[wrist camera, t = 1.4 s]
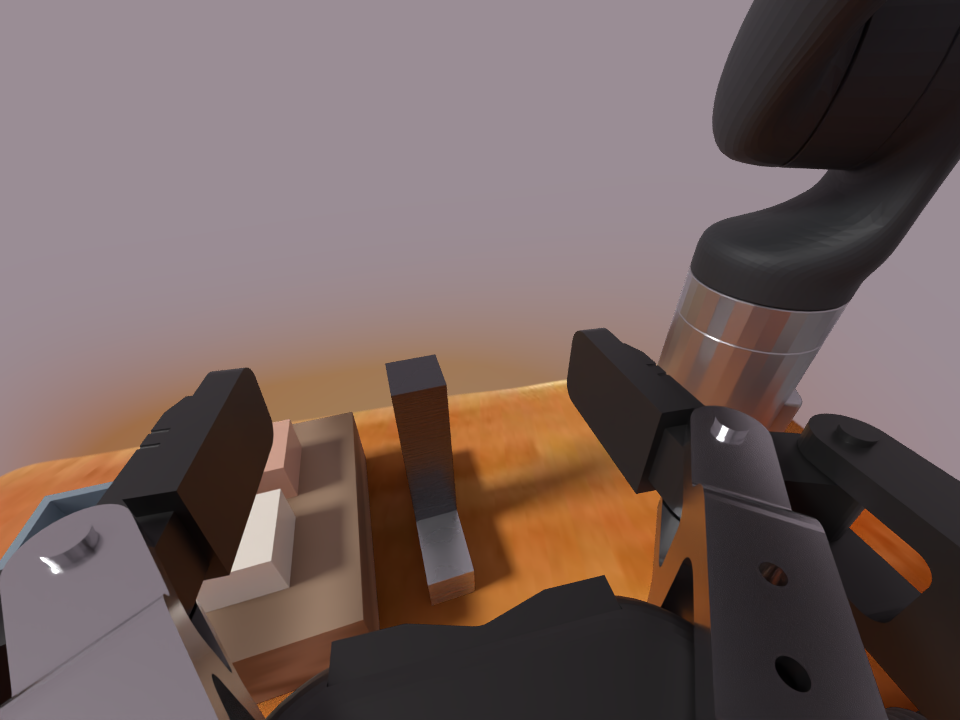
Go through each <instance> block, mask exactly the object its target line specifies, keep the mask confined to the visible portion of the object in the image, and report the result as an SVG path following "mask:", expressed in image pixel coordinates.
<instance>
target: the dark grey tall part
mask: <svg viewBox="0 0 960 720" xmlns="http://www.w3.org/2000/svg"><path fill="white" fill-rule="evenodd" d="M385 365H386V370H387V376H388V381H389V387H390V393H391V398H392V403H393V408H394V413H395V418H396V423H397V428H398V433H399V438H400V443H401V448H402V453H403V458H404V463H405V468H406V473H407V478H408V483H409V488H410V493H411V498H412V503H413V508H414V513H415V518H416V524H417V529H418V534H419V540H420V545H421V551H422V556H423V562H424V567H425V572H426V578H427V583H428V588H429V593H430V598H431V603H432V606H433V605H435V604H438V603H441V602H444V601H447V600H450V599H453V598H456V597H459V596H462V595H465V594H468V593H471V592H474V591H475V583H474V569H473V566H472V562H471V559H470V555H469V551H468V548H467V544H466V541H465V537H464V534H463V530H462V527H461V523H460V520H459V516H458V513H457V507H456V495H455V483H454V471H453V459H452V446H451V434H450V422H449V410H448V398H447V387H446V382H445V380H444V377H443V374H442V371H441V369H440V366H439V363H438V361H437V358H436V355H430V356H424V357H419V358H413V359H408V360H402V361H397V362H391V363H386V364H385Z"/></svg>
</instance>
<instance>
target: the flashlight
mask: <svg viewBox="0 0 960 720" xmlns="http://www.w3.org/2000/svg"><path fill="white" fill-rule="evenodd" d="M885 711H886V714H887V717H888V720H927V719H926V717H925V716H924V715H923V714H922V713H921V712H920V711H917V712H913V711H910V710H908V709H903V708H898V707H889V708H886V709H885Z"/></svg>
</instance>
